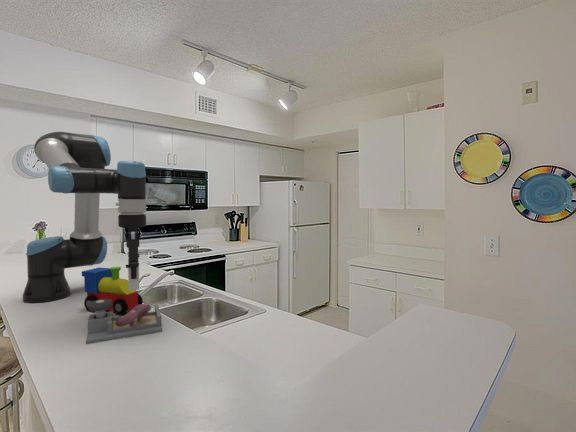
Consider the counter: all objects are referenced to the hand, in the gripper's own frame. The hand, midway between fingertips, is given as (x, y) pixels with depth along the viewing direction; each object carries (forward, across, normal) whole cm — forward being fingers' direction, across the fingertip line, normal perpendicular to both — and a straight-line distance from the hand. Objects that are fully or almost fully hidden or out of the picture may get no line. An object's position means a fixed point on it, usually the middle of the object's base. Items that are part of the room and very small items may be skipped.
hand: (133, 283), depth 100 cm
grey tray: (+13, +1, -2) cm, 13 cm away
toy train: (+14, -20, -7) cm, 25 cm away
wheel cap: (+10, +1, -9) cm, 13 cm away
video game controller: (+12, +1, 0) cm, 12 cm away
